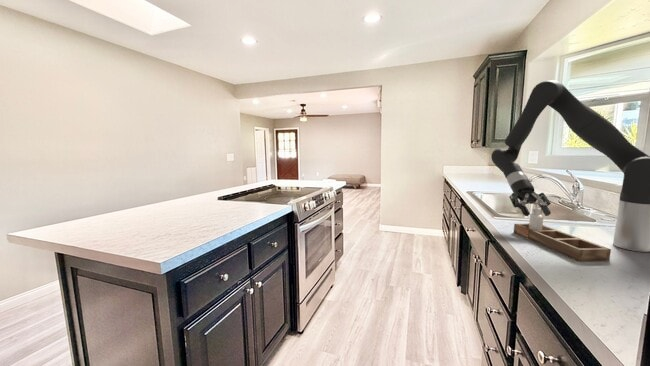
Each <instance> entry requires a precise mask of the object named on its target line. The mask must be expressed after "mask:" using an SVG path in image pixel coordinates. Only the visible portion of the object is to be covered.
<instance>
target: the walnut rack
mask: <svg viewBox="0 0 650 366" xmlns="http://www.w3.org/2000/svg"><path fill="white" fill-rule="evenodd" d="M513 233H514V234H517V235H519V236H521V237H522V236H523V237H522V238H525V239H526V240H529V241H532V242H534V243H536V244H538V245H540V246H542V247H545V248H547V249H549V250H551V251H553V252H556V253H558V254H561V255H562V256H565V257H567V258H569V259H571V260H573V261H577V262H610V259H611V251H612V249H611V248H608V247H605V246H604V245H600V244H597V243H595V242H592V241H589V240H587V239H583V238H581V237H577V236H575V235H572V234H569V233H566V232H563V231H561V230H558V229H555V228H553V227H549V226H547V225H542V230H532V229H529V223H528V222H527V223H513Z"/></svg>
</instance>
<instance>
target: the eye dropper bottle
mask: <svg viewBox="0 0 650 366" xmlns="http://www.w3.org/2000/svg"><path fill="white" fill-rule="evenodd" d="M541 212H542V209H541V208H540V207H539V205H535V207H533V211H532V213H530V215H529V229H532V230H542V225H543V224H544V217H543V215H542V213H541Z"/></svg>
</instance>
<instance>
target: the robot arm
mask: <svg viewBox="0 0 650 366" xmlns="http://www.w3.org/2000/svg"><path fill="white" fill-rule="evenodd" d="M548 106H549V107H550V108H551V109H553V110H554V111H556V112H557V113H558V114H559V115H560V116H561V117H562V119H563V121H564V122H565V123H566V125H567V126H568V128H569V129H570V130H571V131H572V132H573V133H574V134H575V135H576V136H577V137H579V139H581V140H582V141H583V142H585V143H586V144H588V145H589V146H590V147H592V148H593V149H595V150H596V151H598V152H600V153H601V154H603V155H604V156H606V157H607V158H608V159H609V160H611V161H612V163H614V164H615V165H616V166H617V168H618V169H619V170H620V171H621V172H622V173H623V180H622V185H621V186H622V187H621V191H620V194H619V201H618V206H617V207H618V209H617V213H616V214H617V215H616V222H615V228H614V235H613V241H612V244H613V245H614V246H615V247H617V248H620V249H624V250H629V251H634V252H639V253H650V155H648V154H647V153H645V152H643V151H642V150H641V149H639V148H637V147H636V146H634V144H632V143H631V142H630V141H629V140H628V139H627V138H626V136H624V134H623V133H622V132H621V131H620V130H619V129H618V128H617V127H616V126H615V125H614V124H612V123H611V121H609V120H608V119H606V118H605V117H604V116H602V114H600V113H599V112H597V111H595V110H594V109H593V108H592V107H590V106H588V105H587V104H586V103H583V101H581V100H579V99H578V98H577V97H576V96H575V95H574V94H573V93H572V92H571V91H570V90H568V88H567V87H566V86H565V85H564V84H563V83H561V82H560V81H558V80H555V79H553V80H545V81H541V82H539V83H537V84H536V85H535V86H534V87H533V88H532V90H531V93H530V95H529V98H528V100H527V101H526V104H525V106H524V108H523V111H522V112H521V114H520V116H519V117H518V119H517V121H516V123H514V126H513V127H512V128H511V130H510V132H509V133H508V135H507V137H506V138H505V140H504V144H505V145H506V146H507V149H504V148H503V149H502V148H497V149H495V150H493V151H492V153H491V161H492V163H493V164H494V165H495V166H496V167H497V168H498V169H499V170H500V171H501V172H502V173H503V175H504V177H505V179H506V180H507V184H508V186H509V187H510V189H511V190H512V193H511V194H510V195H509V196H508V197H509V199H510V201H511V204H512V206H513V207H514V208H518V209H519V210H520V211H521V212H522V214H523V215H524V217H528V216H530V214H531V212H530V211H529V209H528V207H527V206H526V205H529V204H530V205H534V206H536V205H539V208H540V209H541V212H542V213H543V214H544V216H545V217H548V216H550V215H551V210H550V208H549V206H550V205H551V204H552V203H551V201H550V199H548V197H547V196H546V194H545V193H544V192H540V193H536V191H535V186H533V184H532V182H531V181H530V178H529V177H528V176H527V174H526V173H525V172H524V171H523V169H522V167H521V165H520V164H518V163H516V162H517V160H518V157H519V154H520V151H521V148H522V146H523V144H524V143H525V141H526V140H527V138H528V137H529V136H530V133H531V132H532V130H533V128H534V126H535V123H536V121H537V119H538V118H539V117H540V115H541V113H542V112H544V110H545V109H546V107H548Z"/></svg>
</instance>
